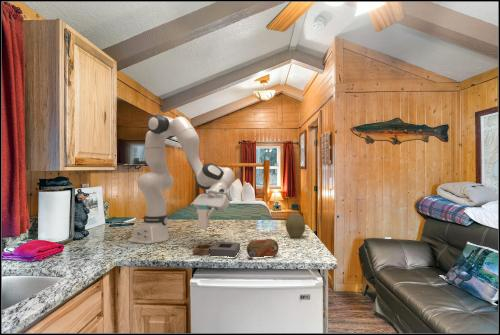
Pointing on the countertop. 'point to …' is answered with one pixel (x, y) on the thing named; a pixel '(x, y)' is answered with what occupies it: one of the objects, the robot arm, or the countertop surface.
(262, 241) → the tin
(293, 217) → the olive brown vase
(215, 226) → the countertop surface
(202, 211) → the blue capped bottle
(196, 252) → the brown shallow square box
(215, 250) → the port
